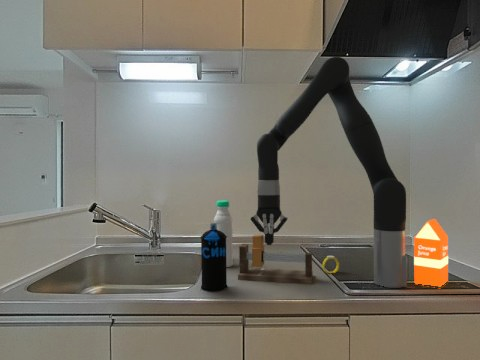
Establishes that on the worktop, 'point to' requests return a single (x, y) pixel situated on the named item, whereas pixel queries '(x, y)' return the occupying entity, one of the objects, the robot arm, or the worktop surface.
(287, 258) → the grey square bar
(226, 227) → the water bottle
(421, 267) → the orange juice
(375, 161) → the robot arm
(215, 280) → the aerosol can
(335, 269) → the watch
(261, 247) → the collar
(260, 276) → the rig
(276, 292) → the worktop surface
